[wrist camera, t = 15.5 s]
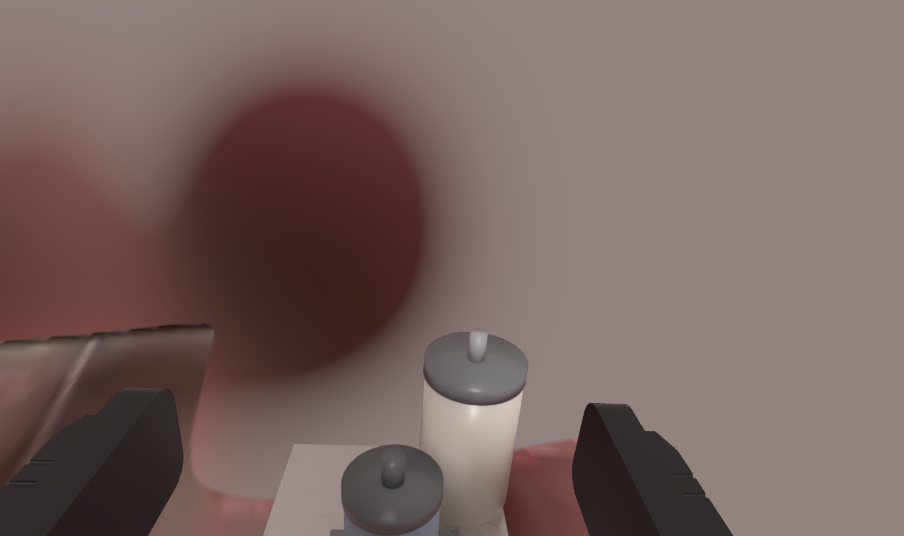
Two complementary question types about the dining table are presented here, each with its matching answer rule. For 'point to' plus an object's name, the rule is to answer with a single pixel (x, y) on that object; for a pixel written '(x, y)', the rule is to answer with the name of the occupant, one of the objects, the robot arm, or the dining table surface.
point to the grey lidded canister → (392, 493)
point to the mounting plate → (333, 496)
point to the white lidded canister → (472, 421)
